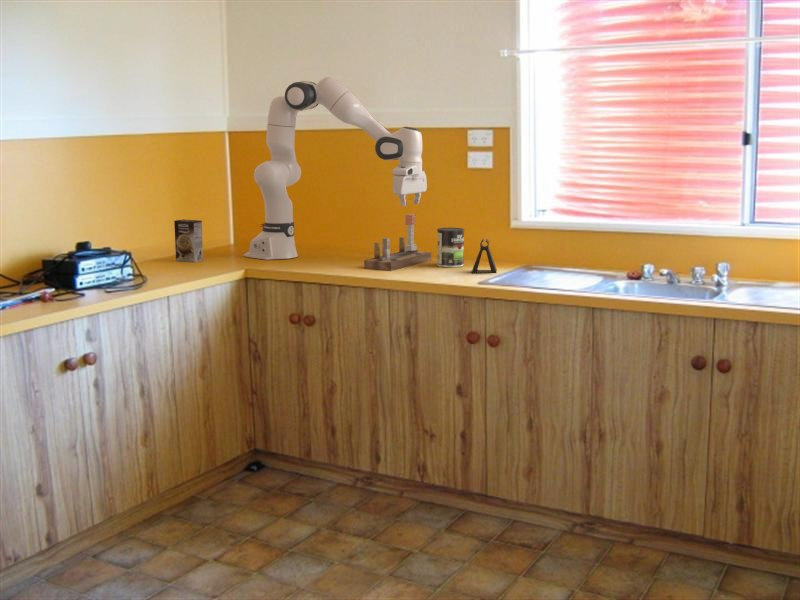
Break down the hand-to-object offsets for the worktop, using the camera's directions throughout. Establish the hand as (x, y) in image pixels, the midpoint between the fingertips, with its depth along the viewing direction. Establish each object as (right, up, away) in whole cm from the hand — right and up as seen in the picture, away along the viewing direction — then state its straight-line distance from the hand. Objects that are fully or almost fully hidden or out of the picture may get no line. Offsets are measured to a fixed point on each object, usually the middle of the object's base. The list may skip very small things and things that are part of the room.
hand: (410, 205), depth 384 cm
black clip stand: (+27, -27, -22) cm, 44 cm away
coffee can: (+15, -24, -7) cm, 29 cm away
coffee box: (-88, -22, +7) cm, 90 cm away
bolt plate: (-4, -23, -3) cm, 24 cm away
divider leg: (0, -17, +3) cm, 18 cm away
